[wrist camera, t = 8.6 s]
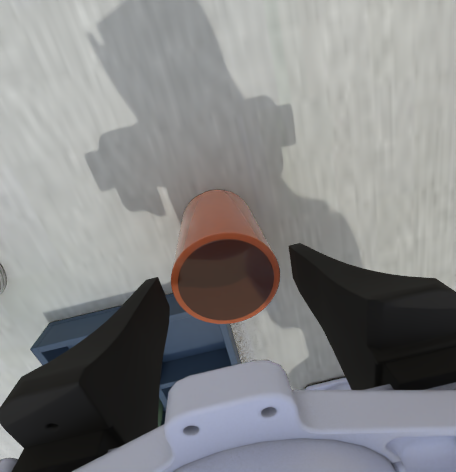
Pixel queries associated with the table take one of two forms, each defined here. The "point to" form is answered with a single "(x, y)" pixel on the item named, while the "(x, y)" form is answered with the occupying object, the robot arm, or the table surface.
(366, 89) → the table surface
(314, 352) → the table surface
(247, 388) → the robot arm
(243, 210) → the terracotta cup
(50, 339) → the cup rack
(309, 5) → the table surface
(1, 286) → the spray can
